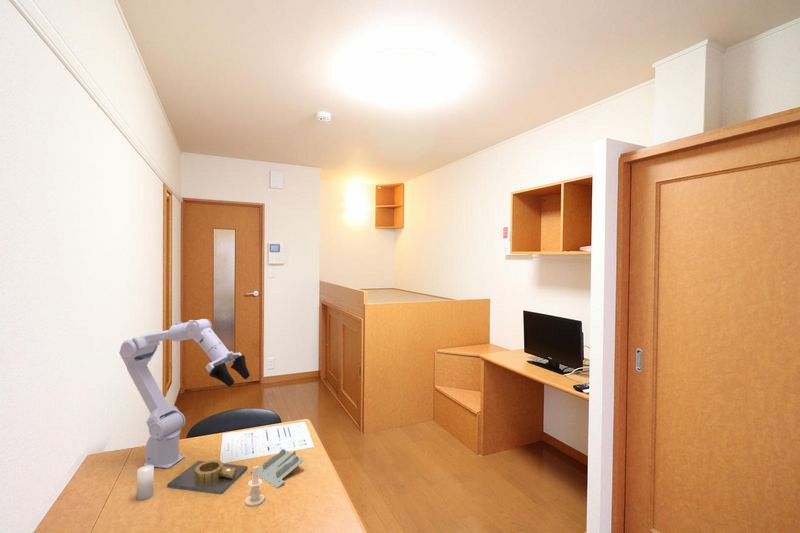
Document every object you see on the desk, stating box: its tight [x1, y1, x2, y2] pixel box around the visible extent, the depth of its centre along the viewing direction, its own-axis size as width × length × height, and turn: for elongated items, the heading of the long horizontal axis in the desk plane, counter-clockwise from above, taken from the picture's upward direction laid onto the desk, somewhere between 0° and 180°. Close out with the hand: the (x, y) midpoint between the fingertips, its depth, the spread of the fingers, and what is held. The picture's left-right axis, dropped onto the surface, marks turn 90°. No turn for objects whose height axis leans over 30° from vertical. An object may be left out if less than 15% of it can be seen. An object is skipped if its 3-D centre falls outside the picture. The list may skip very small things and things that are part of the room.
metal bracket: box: [249, 448, 305, 489], centre depth 126 cm, size 14×6×15 cm
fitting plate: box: [166, 459, 249, 495], centre depth 122 cm, size 18×14×4 cm
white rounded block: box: [136, 465, 155, 501], centre depth 111 cm, size 4×4×8 cm
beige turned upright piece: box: [244, 465, 265, 507], centre depth 111 cm, size 5×5×10 cm
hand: (240, 381), depth 124 cm, fingers open, 7 cm apart
